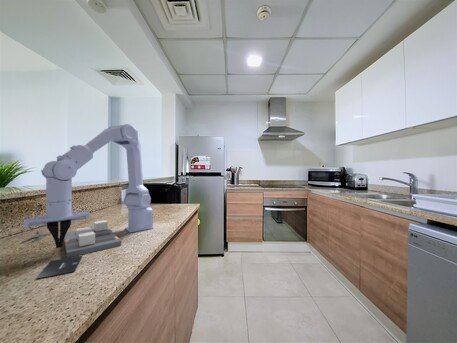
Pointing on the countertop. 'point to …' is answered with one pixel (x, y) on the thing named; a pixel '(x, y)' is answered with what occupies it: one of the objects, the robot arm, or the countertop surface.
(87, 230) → the tab
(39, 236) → the pliers
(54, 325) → the countertop surface
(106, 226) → the tab
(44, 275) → the solid state drive
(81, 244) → the white block
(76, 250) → the switch board
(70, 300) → the countertop surface
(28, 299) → the countertop surface
